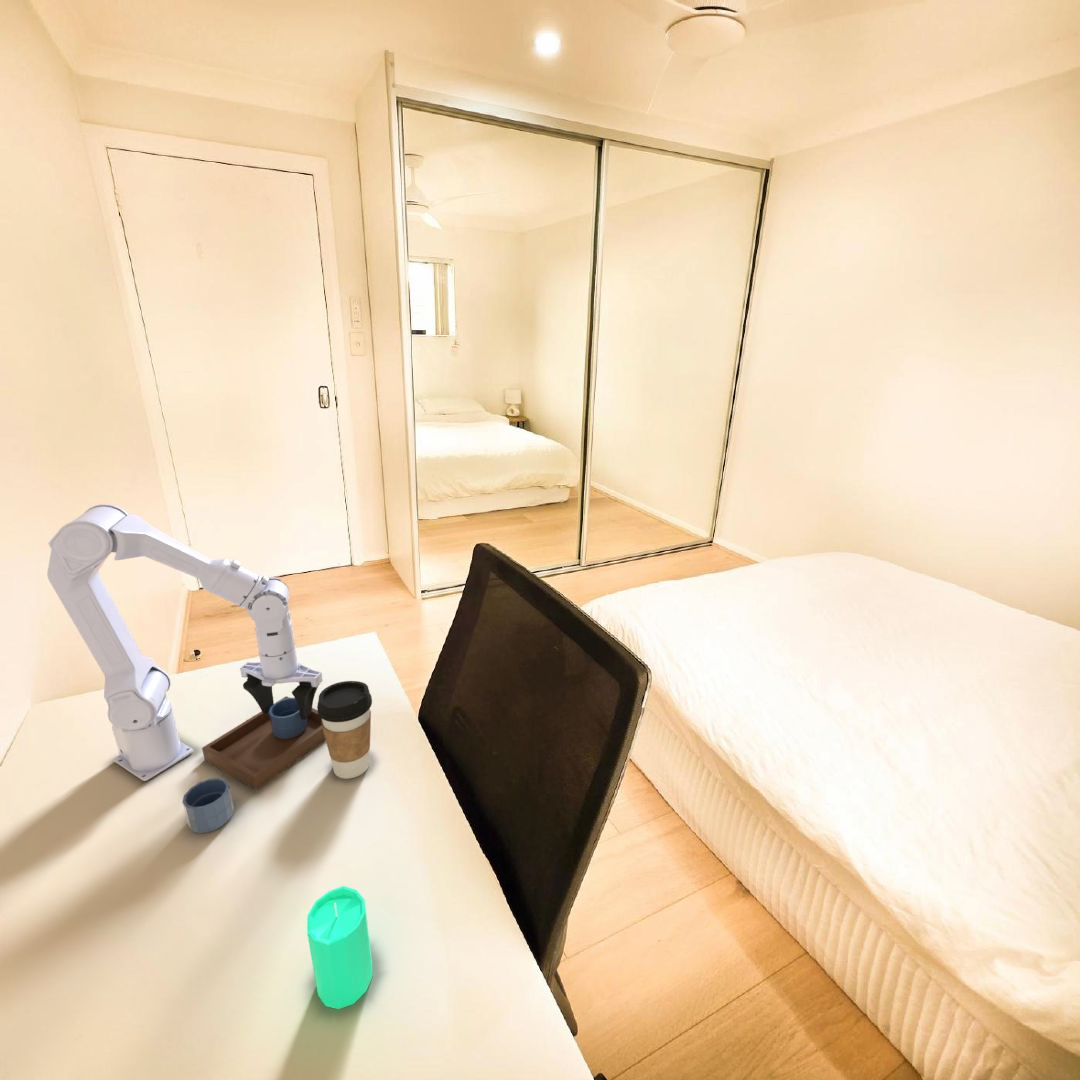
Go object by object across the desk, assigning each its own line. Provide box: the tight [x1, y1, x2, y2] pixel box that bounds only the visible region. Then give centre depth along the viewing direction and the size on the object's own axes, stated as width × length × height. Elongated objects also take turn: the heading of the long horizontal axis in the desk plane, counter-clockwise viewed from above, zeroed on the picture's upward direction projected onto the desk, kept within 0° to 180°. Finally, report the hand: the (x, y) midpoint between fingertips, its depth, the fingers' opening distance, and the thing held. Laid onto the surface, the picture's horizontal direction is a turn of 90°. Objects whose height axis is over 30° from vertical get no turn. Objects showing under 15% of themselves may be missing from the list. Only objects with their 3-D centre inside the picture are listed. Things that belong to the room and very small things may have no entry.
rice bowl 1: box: [181, 777, 235, 834], centre depth 79 cm, size 6×6×5 cm
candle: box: [306, 885, 374, 1010], centre depth 58 cm, size 6×6×12 cm
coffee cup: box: [316, 680, 373, 780], centre depth 88 cm, size 8×8×15 cm
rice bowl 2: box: [269, 697, 307, 739], centre depth 97 cm, size 6×6×5 cm
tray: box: [201, 695, 326, 791], centre depth 94 cm, size 14×17×3 cm
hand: (287, 713), depth 96 cm, fingers open, 7 cm apart
